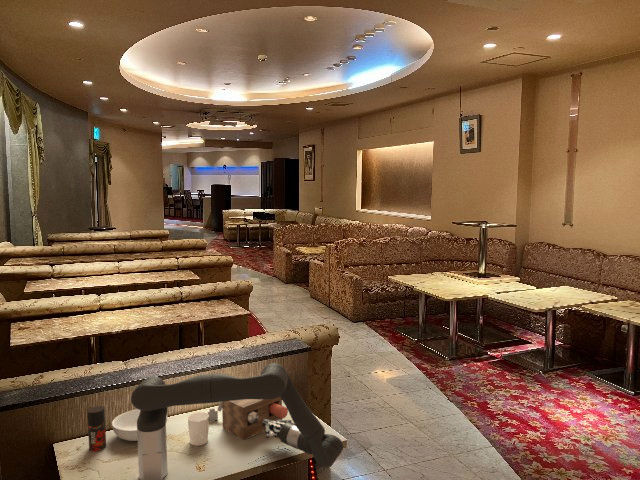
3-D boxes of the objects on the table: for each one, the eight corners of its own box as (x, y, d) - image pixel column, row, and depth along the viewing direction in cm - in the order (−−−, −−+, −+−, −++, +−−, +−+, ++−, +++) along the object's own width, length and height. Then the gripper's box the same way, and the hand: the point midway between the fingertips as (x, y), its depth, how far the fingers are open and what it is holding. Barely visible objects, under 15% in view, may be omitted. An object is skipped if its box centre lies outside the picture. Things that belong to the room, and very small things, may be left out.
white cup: (204, 447, 185) (203, 422, 184) (184, 445, 186) (183, 420, 185) (212, 437, 192) (212, 413, 192) (194, 435, 194) (193, 411, 193)
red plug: (287, 416, 198) (287, 405, 198) (279, 420, 195) (279, 409, 195) (271, 409, 205) (271, 399, 205) (263, 412, 202) (263, 402, 202)
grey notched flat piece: (207, 421, 206) (207, 403, 205) (207, 420, 208) (207, 401, 207) (225, 419, 208) (224, 401, 207) (224, 417, 210) (224, 399, 209)
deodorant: (87, 452, 182) (85, 413, 181) (90, 444, 188) (88, 407, 186) (105, 450, 183) (103, 411, 182) (107, 442, 189) (105, 405, 188)
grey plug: (258, 421, 194) (258, 411, 194) (250, 425, 191) (249, 414, 190) (243, 414, 201) (242, 404, 200) (234, 417, 198) (234, 407, 197)
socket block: (282, 422, 205) (281, 392, 204) (244, 439, 190) (243, 407, 189) (260, 412, 214) (260, 384, 213) (222, 428, 200) (221, 397, 199)
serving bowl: (174, 422, 206) (174, 407, 205) (157, 448, 185) (156, 430, 184) (125, 422, 206) (125, 407, 206) (102, 448, 185) (102, 430, 185)
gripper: (307, 419, 181) (276, 406, 193) (281, 432, 172) (250, 418, 183) (308, 439, 182) (276, 425, 194) (281, 453, 172) (250, 437, 184)
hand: (263, 421), depth 188 cm, fingers closed
